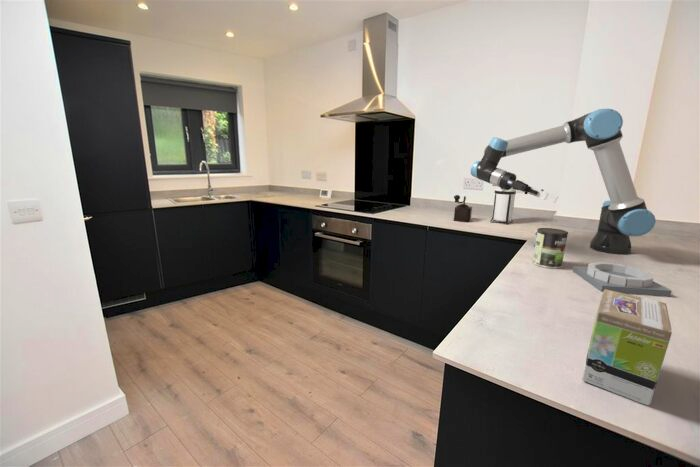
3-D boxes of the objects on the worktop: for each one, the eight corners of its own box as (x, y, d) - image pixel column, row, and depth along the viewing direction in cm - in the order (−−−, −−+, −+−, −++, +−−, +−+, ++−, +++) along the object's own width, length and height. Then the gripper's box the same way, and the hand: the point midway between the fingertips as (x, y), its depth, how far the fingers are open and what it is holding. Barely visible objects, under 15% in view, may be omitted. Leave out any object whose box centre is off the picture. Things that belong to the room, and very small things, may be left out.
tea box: (652, 409, 54) (674, 331, 50) (580, 381, 60) (595, 311, 57) (649, 367, 65) (667, 300, 61) (589, 347, 71) (602, 286, 68)
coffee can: (568, 266, 124) (574, 232, 121) (550, 270, 120) (556, 234, 117) (543, 259, 134) (548, 226, 130) (526, 262, 130) (531, 228, 126)
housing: (629, 275, 116) (632, 263, 115) (670, 296, 98) (673, 283, 97) (572, 271, 120) (574, 259, 118) (601, 291, 101) (603, 278, 100)
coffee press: (519, 224, 202) (526, 177, 195) (494, 224, 203) (500, 177, 196) (507, 219, 219) (512, 175, 212) (484, 219, 219) (489, 175, 212)
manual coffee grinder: (454, 218, 222) (456, 192, 218) (471, 219, 217) (473, 193, 213) (451, 222, 209) (453, 195, 204) (468, 224, 204) (471, 196, 199)
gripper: (510, 190, 151) (555, 209, 137) (487, 183, 134) (536, 204, 120) (518, 175, 148) (564, 193, 134) (496, 167, 131) (547, 186, 117)
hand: (551, 198), depth 127 cm, fingers open, 13 cm apart
